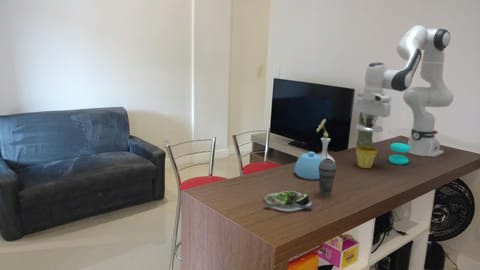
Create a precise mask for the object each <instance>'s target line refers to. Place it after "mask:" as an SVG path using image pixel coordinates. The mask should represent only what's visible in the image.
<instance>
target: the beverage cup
mask: <svg viewBox="0 0 480 270" xmlns="http://www.w3.org/2000/svg"><path fill="white" fill-rule="evenodd" d="M327 153H328V147H327V148H326V159H323V160H322V161H321V162H320V164H319V167H318V168H319V179H318V181H319V183H318V185H319V189H318V190H319V195H320V196H321V197H322V196H323V197H330V196H331V194H332V190H333V185H334V180H335V179H334V178H335V175H336V172H337V164H336V161H335V162H334V161H333V160H331V159H329V158H327Z"/></svg>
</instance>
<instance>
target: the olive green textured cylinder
mask: <svg viewBox="0 0 480 270" xmlns="http://www.w3.org/2000/svg"><path fill="white" fill-rule="evenodd" d="M358 115H359V116H358V124H366V122H364V117H363V113H361V112H359V114H358ZM373 116H374V115H371V114H367V119H368V118H370V119H374V117H373ZM373 125H375V124H373ZM373 133H374V132H367V131H361V130H358V134H357V139H356V143H355V144H356V145H355V148H356V147H357V146H369V147H373V144H374V143H373V135H374V134H373Z"/></svg>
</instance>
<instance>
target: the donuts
mask: <svg viewBox="0 0 480 270" xmlns="http://www.w3.org/2000/svg"><path fill="white" fill-rule="evenodd" d="M389 148H390V149H391V150H392V151H393V152H396V153H403V154H404V153H408V151H410V146H409V145H408V143H407V144H406V143H404V142H403V143H401V142H393V143H392V144H390V147H389ZM388 161H389V163H392V164H395V165H401V166H404V165H407V164H409V162H410V161H409V158H408V157H406V156H405V155H401V154H392V155H390V156H389V157H388Z"/></svg>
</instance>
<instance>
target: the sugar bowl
mask: <svg viewBox="0 0 480 270" xmlns="http://www.w3.org/2000/svg"><path fill="white" fill-rule="evenodd" d="M321 161H322V158H321V156H319V154H316V152H314V151H308V152H307V153H303V154H301V156H299V158H298V160H297V161H296V163H295V164H294V165H295V166H294V168H293V169H294V170H293V171H294V173H295V174H296V175H297V177H299V178H301V179H303V180H304V179H306V180H309V181H310V180H313V181H315V180H319V168H318V167H319V164H320V162H321Z"/></svg>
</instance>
